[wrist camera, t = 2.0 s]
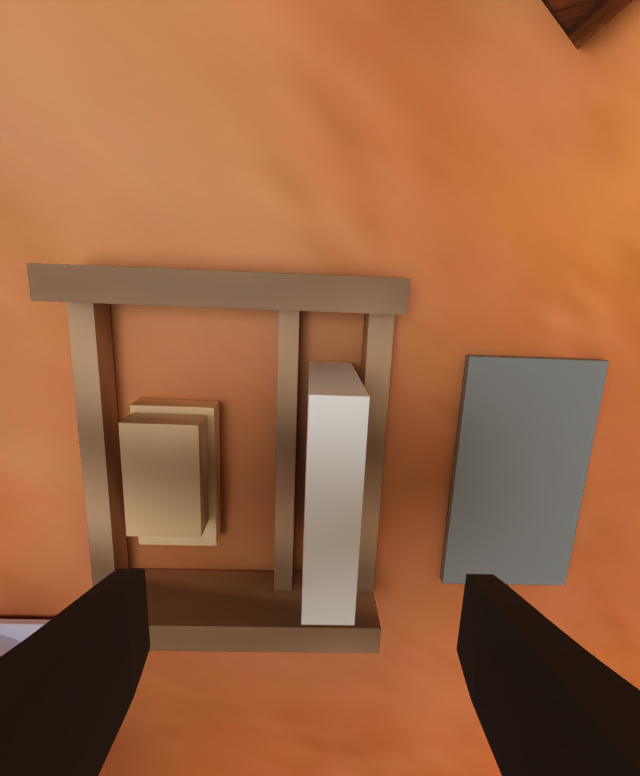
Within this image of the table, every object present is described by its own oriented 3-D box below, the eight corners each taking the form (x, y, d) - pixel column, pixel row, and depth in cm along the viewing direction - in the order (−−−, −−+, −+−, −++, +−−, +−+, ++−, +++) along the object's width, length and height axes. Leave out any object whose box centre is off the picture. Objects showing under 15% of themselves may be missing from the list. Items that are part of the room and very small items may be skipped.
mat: (560, 579, 21) (565, 585, 21) (440, 577, 21) (442, 583, 21) (602, 359, 19) (608, 361, 18) (466, 355, 19) (469, 356, 18)
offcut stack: (222, 528, 21) (209, 565, 18) (150, 527, 20) (126, 564, 18) (220, 399, 19) (205, 418, 16) (142, 396, 19) (115, 415, 16)
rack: (367, 594, 21) (378, 653, 18) (109, 590, 21) (70, 649, 17) (390, 279, 18) (410, 278, 14) (82, 267, 17) (26, 262, 14)
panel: (341, 528, 20) (354, 625, 15) (303, 527, 20) (301, 624, 15) (350, 362, 19) (369, 396, 13) (309, 360, 19) (309, 394, 13)
